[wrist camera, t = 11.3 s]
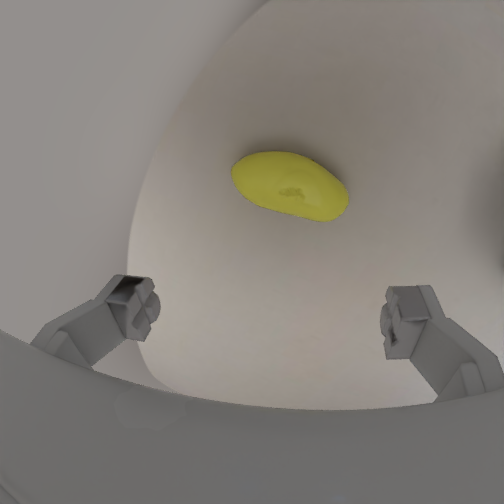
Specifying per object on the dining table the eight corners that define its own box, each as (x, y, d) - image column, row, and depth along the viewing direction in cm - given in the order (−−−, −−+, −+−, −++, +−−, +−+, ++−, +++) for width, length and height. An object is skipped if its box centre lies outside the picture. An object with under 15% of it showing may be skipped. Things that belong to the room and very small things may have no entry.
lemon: (331, 221, 21) (335, 248, 18) (231, 182, 21) (216, 203, 17) (355, 172, 18) (365, 192, 15) (248, 130, 18) (235, 139, 15)
